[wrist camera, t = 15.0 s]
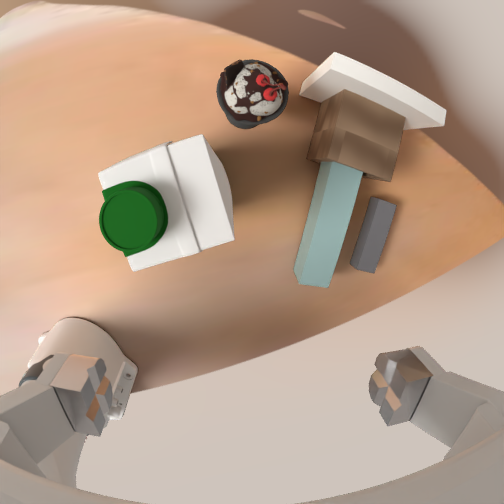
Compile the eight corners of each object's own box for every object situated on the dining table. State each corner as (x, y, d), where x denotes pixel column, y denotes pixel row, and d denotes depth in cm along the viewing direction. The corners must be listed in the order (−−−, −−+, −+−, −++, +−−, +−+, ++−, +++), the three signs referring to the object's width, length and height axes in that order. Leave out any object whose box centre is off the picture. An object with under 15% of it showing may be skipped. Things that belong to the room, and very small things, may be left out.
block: (360, 177, 38) (390, 181, 30) (306, 158, 36) (327, 158, 29) (374, 123, 35) (405, 117, 28) (321, 102, 34) (344, 88, 27)
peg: (320, 273, 41) (328, 287, 38) (293, 269, 41) (299, 283, 37) (355, 146, 34) (368, 149, 31) (326, 138, 34) (337, 139, 30)
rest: (366, 267, 42) (374, 273, 39) (349, 263, 41) (356, 269, 39) (387, 202, 39) (396, 205, 37) (370, 196, 39) (379, 198, 36)
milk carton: (148, 165, 35) (75, 169, 16) (217, 142, 35) (209, 116, 16) (169, 229, 38) (120, 294, 18) (236, 208, 38) (251, 255, 19)
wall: (390, 131, 36) (444, 126, 25) (299, 95, 34) (330, 68, 23) (393, 119, 36) (446, 110, 24) (302, 82, 34) (334, 51, 22)
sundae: (277, 130, 35) (311, 109, 21) (224, 140, 35) (224, 123, 21) (266, 82, 33) (292, 36, 19) (213, 91, 33) (208, 48, 19)
